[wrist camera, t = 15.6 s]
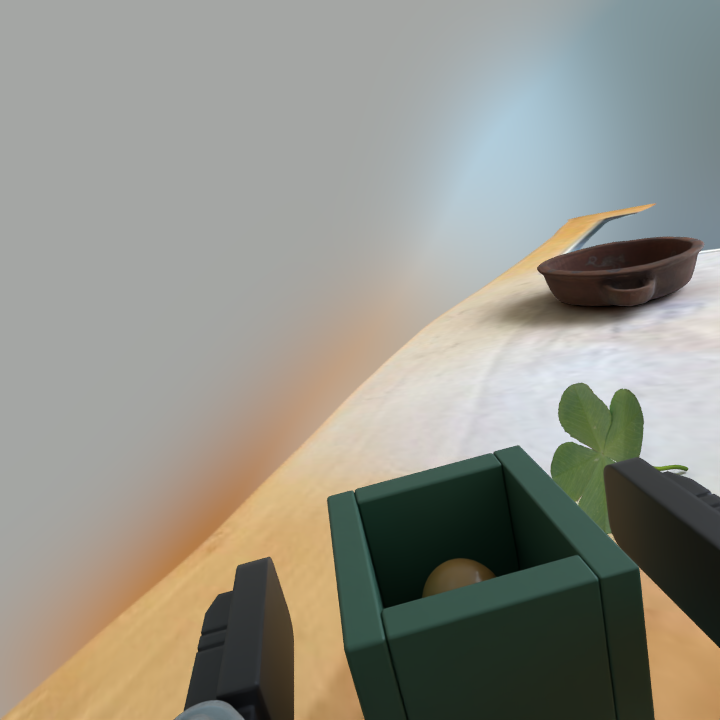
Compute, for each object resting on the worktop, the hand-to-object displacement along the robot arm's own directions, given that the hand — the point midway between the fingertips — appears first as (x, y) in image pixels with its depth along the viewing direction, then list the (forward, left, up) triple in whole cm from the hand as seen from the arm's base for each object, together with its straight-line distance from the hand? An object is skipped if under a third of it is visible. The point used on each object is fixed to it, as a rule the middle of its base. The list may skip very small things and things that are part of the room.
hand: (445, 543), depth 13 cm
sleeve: (-1, -1, -8) cm, 8 cm away
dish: (+53, +27, -9) cm, 61 cm away
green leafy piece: (+15, +5, -9) cm, 19 cm away
